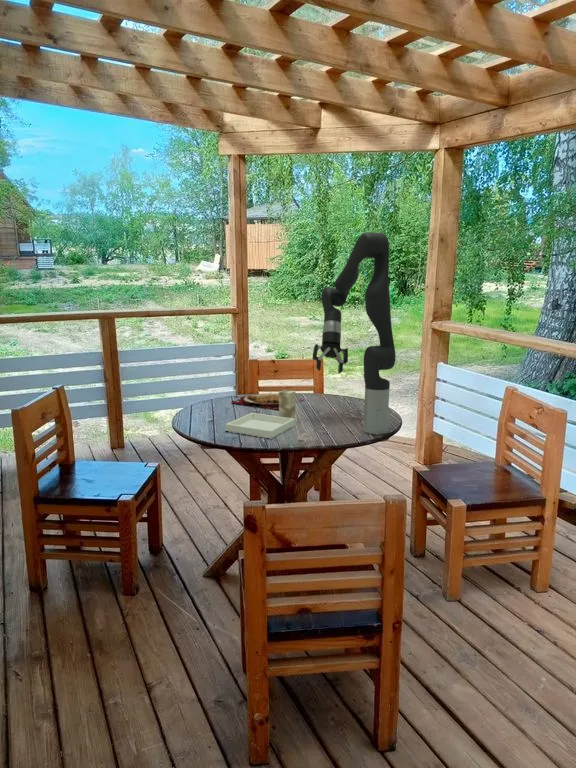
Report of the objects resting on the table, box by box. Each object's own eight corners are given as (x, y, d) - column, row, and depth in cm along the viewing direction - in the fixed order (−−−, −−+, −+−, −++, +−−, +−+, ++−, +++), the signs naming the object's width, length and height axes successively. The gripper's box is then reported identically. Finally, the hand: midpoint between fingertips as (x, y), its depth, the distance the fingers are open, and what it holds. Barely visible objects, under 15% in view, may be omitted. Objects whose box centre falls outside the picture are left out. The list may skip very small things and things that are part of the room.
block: (295, 419, 229) (295, 391, 227) (289, 422, 225) (289, 393, 223) (284, 417, 232) (284, 389, 229) (278, 420, 227) (279, 392, 225)
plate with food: (280, 412, 243) (280, 405, 243) (230, 404, 255) (230, 396, 255) (304, 402, 265) (305, 395, 264) (257, 394, 277) (257, 388, 276)
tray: (295, 426, 219) (295, 418, 218) (271, 439, 202) (271, 431, 201) (252, 419, 228) (251, 412, 227) (225, 431, 211) (225, 424, 210)
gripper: (317, 328, 221) (314, 366, 217) (351, 333, 223) (349, 371, 219) (312, 334, 228) (310, 371, 224) (345, 339, 230) (343, 376, 226)
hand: (329, 371), depth 221 cm, fingers open, 8 cm apart
